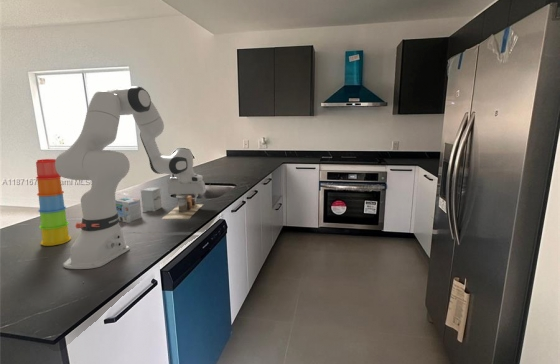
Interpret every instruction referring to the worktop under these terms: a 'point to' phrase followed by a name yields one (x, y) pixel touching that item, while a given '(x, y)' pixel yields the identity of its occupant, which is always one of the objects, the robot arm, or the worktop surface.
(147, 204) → the supplement box
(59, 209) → the stacking cups
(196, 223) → the worktop surface
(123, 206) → the light bulb box
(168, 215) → the winding board
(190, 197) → the tab
